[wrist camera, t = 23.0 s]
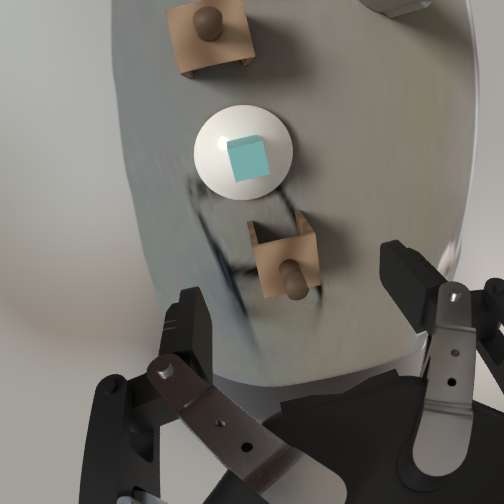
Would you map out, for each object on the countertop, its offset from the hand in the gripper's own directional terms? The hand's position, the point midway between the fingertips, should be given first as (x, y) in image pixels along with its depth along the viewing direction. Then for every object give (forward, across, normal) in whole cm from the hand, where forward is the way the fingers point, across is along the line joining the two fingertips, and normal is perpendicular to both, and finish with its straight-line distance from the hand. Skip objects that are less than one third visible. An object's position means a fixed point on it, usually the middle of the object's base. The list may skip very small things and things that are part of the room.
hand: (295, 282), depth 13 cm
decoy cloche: (+30, -2, +14) cm, 33 cm away
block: (+29, 0, 0) cm, 29 cm away
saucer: (+30, 0, 0) cm, 30 cm away
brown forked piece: (+30, +1, -16) cm, 34 cm away
